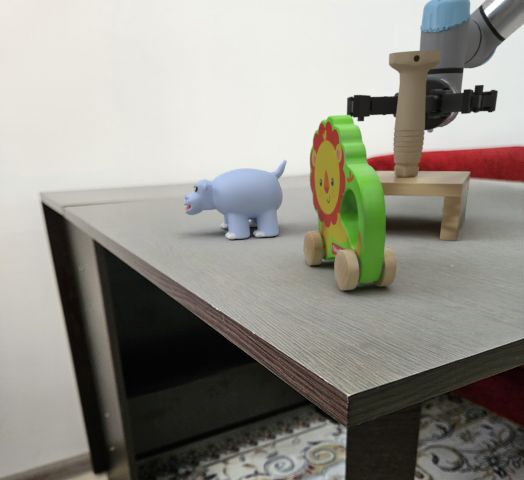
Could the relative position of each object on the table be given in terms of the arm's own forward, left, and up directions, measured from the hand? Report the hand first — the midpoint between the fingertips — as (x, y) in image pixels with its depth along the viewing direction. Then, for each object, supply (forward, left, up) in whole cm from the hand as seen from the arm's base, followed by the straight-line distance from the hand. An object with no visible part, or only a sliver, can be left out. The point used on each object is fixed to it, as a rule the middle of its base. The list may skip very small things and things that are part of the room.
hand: (408, 104), depth 66 cm
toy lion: (+2, +22, -16) cm, 28 cm away
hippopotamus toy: (+22, +6, -16) cm, 28 cm away
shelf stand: (0, -3, -16) cm, 16 cm away
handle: (0, -3, -9) cm, 10 cm away
